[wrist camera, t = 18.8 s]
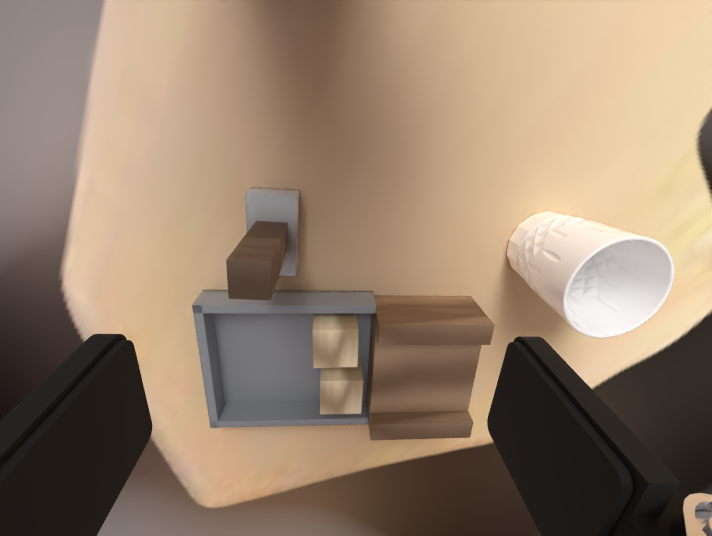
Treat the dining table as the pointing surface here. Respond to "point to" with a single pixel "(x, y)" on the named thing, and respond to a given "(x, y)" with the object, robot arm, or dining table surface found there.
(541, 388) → the robot arm
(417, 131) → the dining table surface
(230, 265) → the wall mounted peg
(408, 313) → the slot block
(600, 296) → the white cup
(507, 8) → the dining table surface
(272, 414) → the tray
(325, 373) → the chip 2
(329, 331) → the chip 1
